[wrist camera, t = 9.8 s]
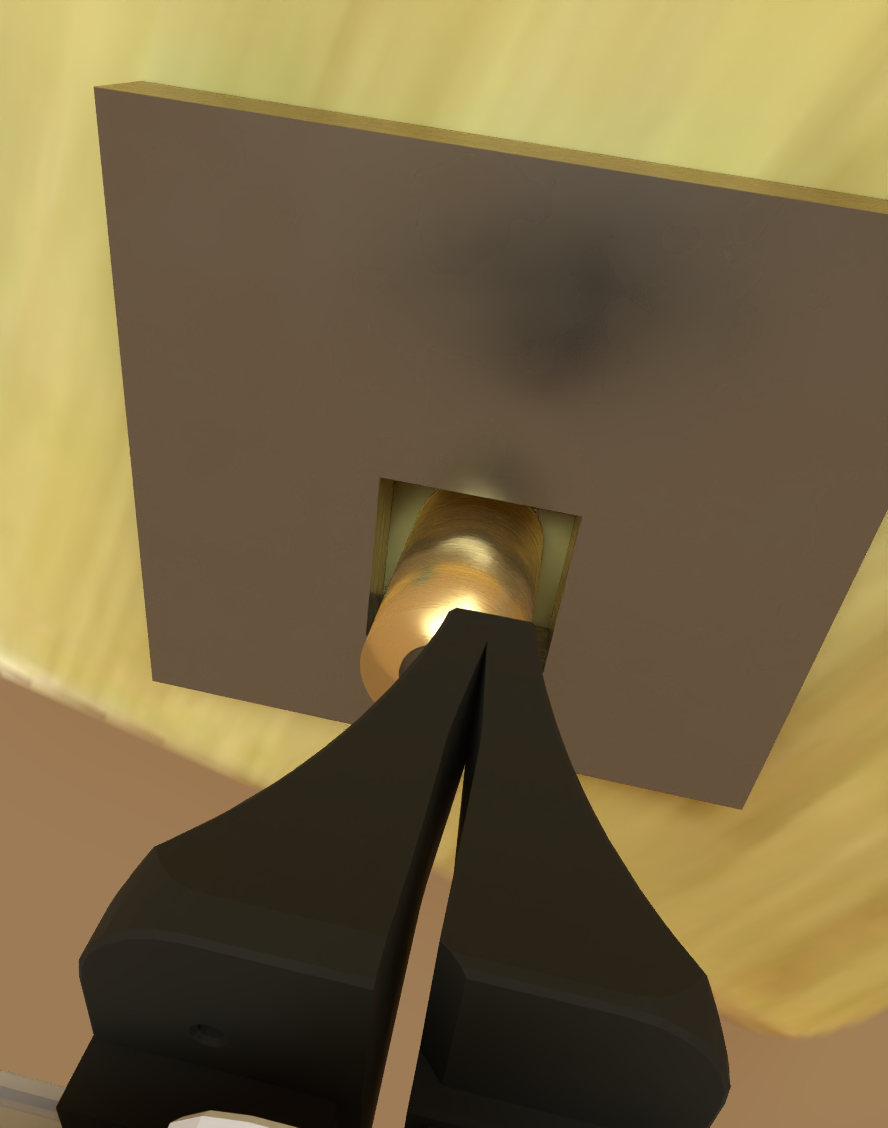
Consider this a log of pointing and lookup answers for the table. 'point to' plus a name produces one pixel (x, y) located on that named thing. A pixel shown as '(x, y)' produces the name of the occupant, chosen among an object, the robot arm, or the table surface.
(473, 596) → the bushing
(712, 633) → the plate
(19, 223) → the table surface
